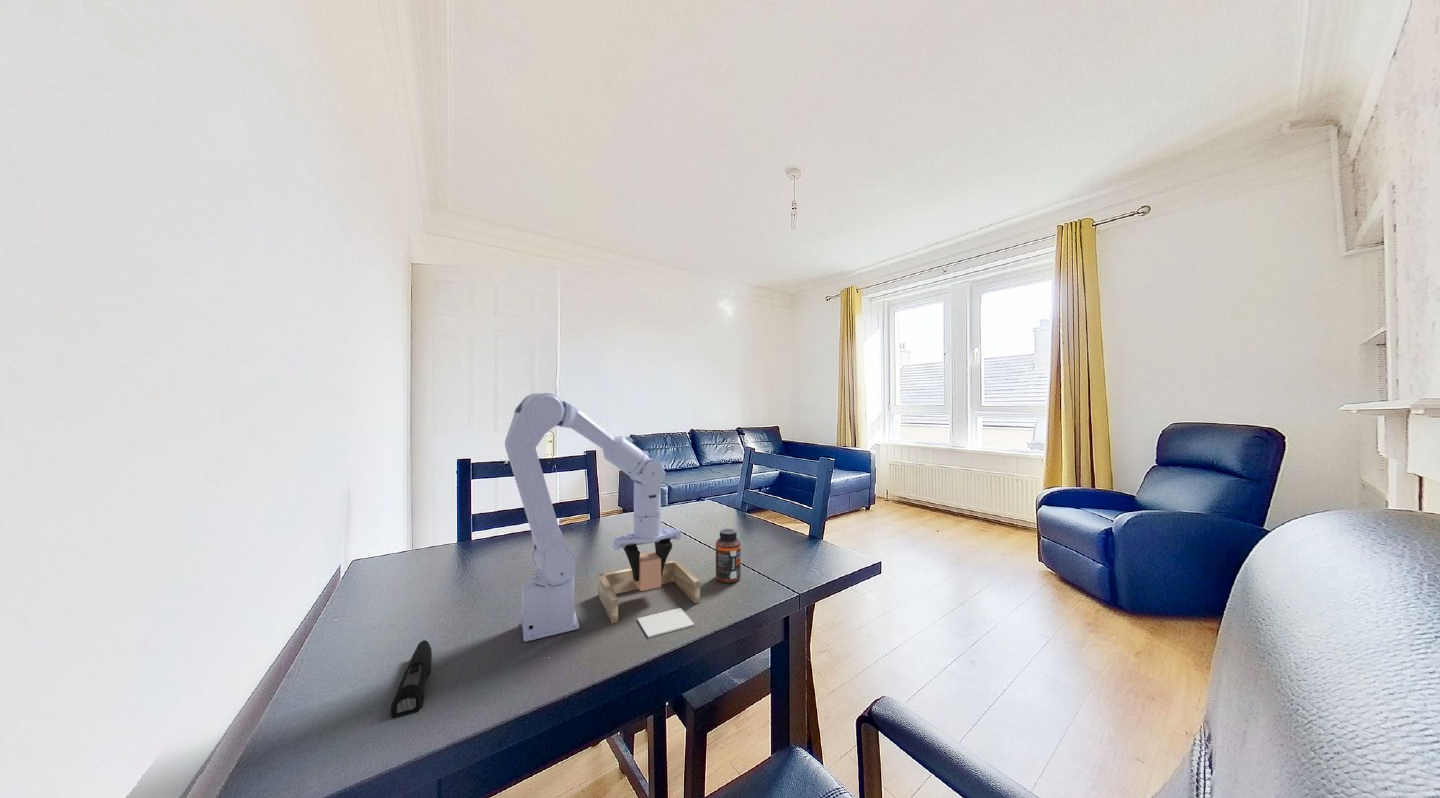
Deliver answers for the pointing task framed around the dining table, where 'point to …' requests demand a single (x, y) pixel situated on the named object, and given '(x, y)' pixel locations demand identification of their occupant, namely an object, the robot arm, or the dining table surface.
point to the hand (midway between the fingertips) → (647, 577)
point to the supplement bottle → (728, 556)
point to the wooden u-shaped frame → (624, 582)
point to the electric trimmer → (413, 682)
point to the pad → (665, 622)
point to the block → (649, 571)
